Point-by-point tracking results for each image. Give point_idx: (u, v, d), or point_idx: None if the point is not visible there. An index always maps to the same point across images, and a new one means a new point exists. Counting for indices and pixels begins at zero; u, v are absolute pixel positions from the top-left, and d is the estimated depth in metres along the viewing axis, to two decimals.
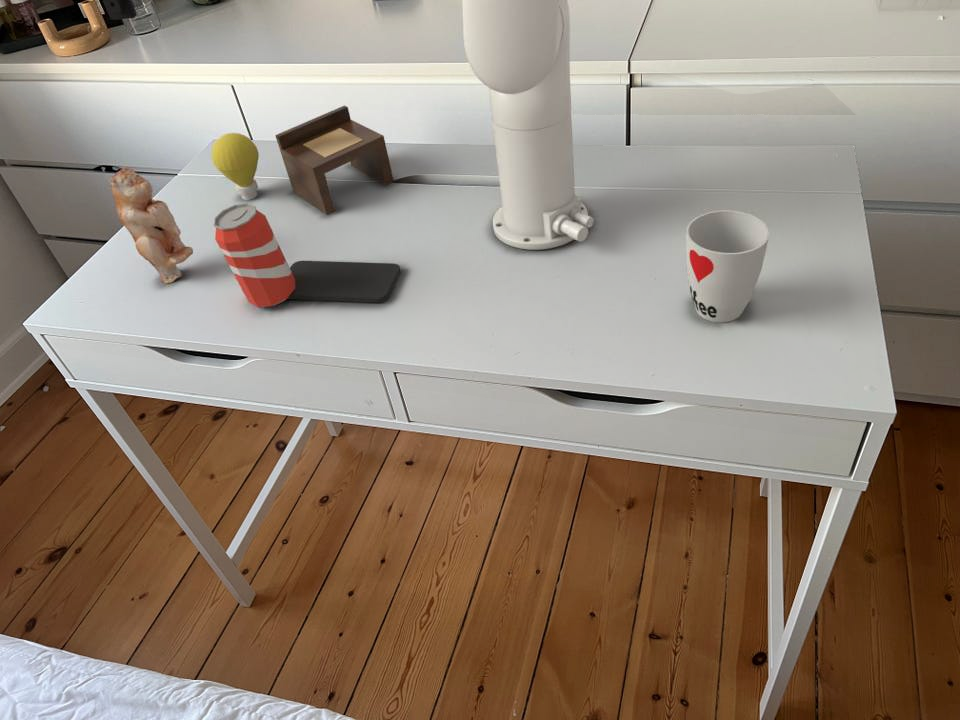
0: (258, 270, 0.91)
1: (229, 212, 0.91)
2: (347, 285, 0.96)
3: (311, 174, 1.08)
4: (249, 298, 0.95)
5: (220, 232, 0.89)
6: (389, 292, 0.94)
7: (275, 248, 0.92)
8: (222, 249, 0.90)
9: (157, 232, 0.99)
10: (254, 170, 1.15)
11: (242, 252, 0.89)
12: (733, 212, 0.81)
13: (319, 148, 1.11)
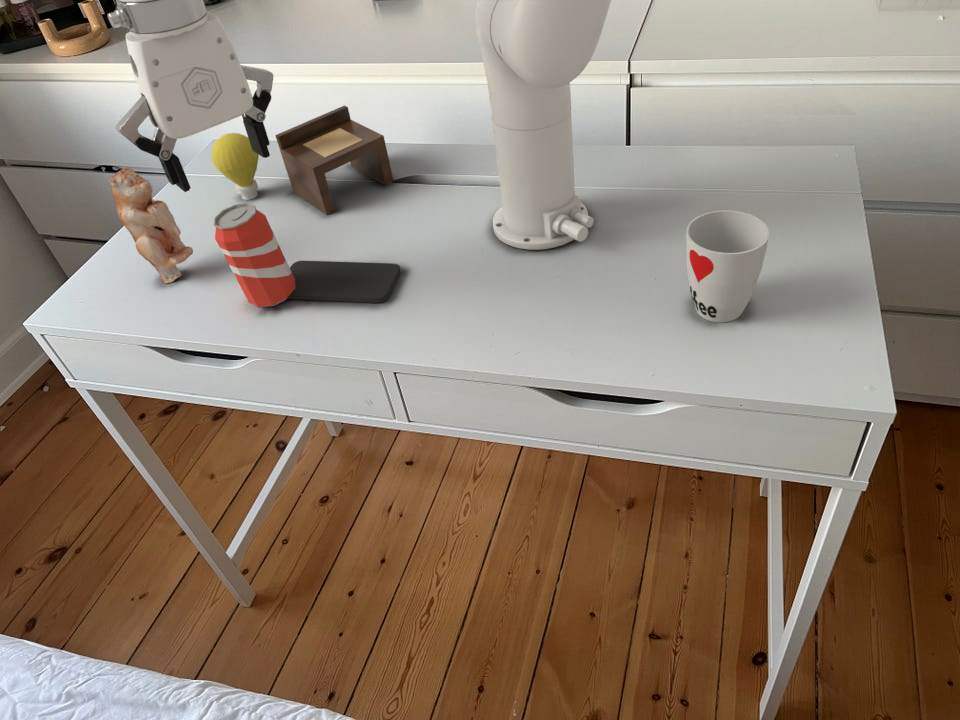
0: (258, 269, 0.91)
1: (229, 211, 0.91)
2: (347, 285, 0.96)
3: (311, 174, 1.08)
4: (249, 298, 0.95)
5: (220, 231, 0.89)
6: (389, 292, 0.94)
7: (275, 248, 0.92)
8: (222, 249, 0.90)
9: (157, 232, 0.99)
10: (254, 170, 1.15)
11: (242, 251, 0.89)
12: (733, 212, 0.81)
13: (319, 148, 1.11)
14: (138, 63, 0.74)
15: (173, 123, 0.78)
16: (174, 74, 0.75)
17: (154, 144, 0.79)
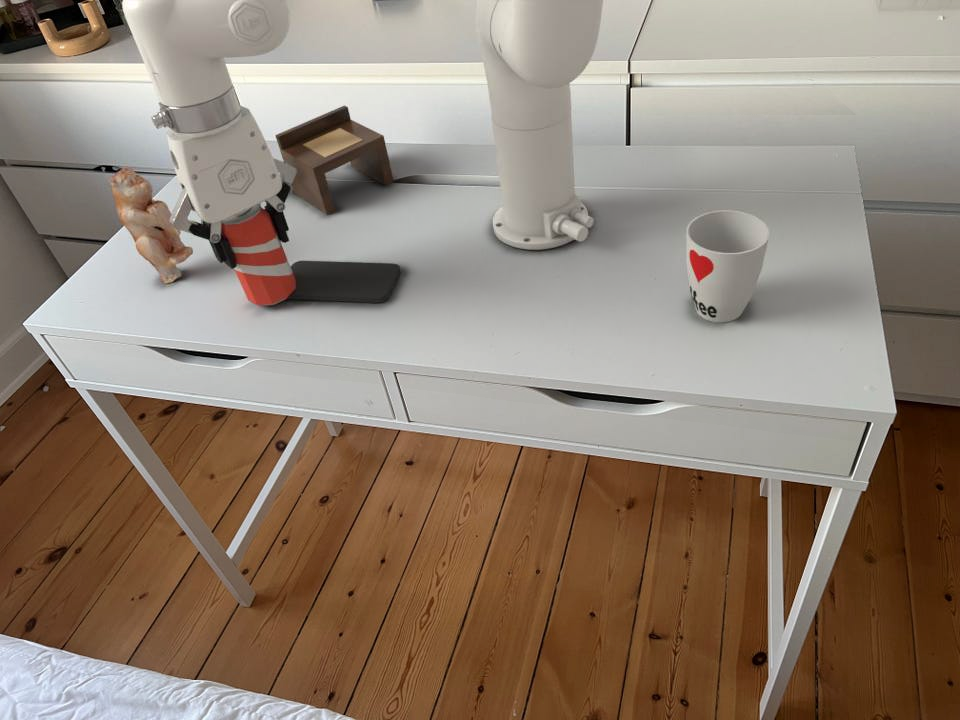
0: (260, 266, 0.91)
1: None
2: (347, 285, 0.96)
3: (311, 174, 1.08)
4: (249, 296, 0.95)
5: (224, 227, 0.89)
6: (389, 292, 0.94)
7: (278, 246, 0.92)
8: None
9: (157, 232, 0.99)
10: None
11: (245, 247, 0.89)
12: (733, 212, 0.81)
13: (319, 148, 1.11)
14: (179, 158, 0.80)
15: (210, 210, 0.84)
16: (211, 167, 0.82)
17: (205, 229, 0.87)
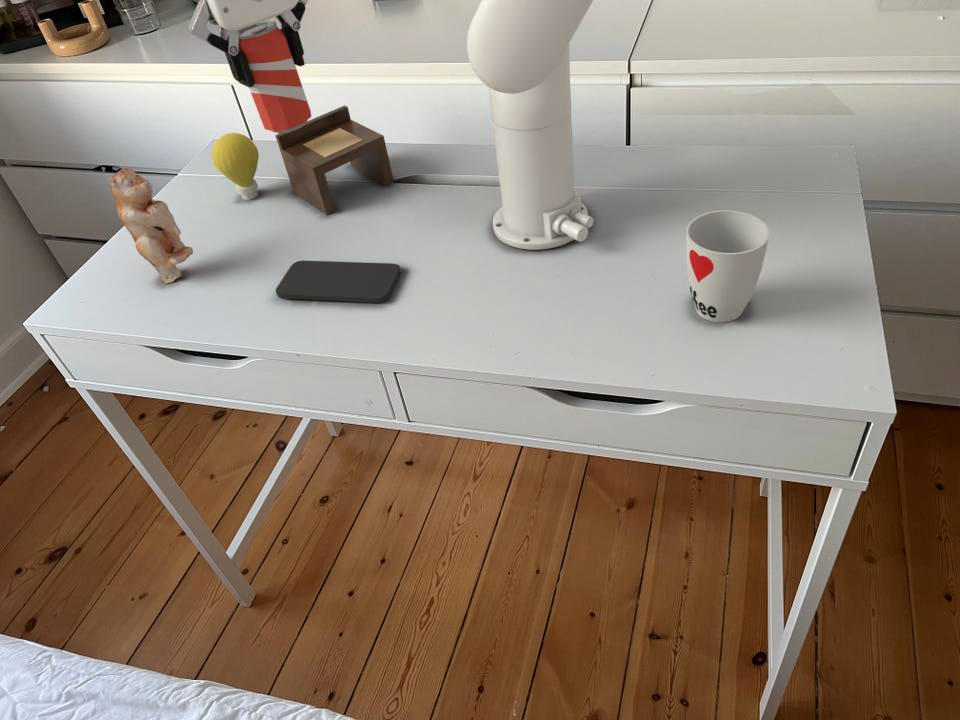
0: (277, 86, 0.92)
1: (249, 29, 0.93)
2: (347, 285, 0.96)
3: (311, 174, 1.08)
4: (265, 122, 0.96)
5: (241, 42, 0.90)
6: (389, 292, 0.94)
7: (294, 67, 0.93)
8: None
9: (157, 232, 0.99)
10: (254, 170, 1.15)
11: (262, 63, 0.90)
12: (733, 212, 0.81)
13: (319, 148, 1.11)
14: None
15: (229, 15, 0.85)
16: None
17: (223, 40, 0.88)
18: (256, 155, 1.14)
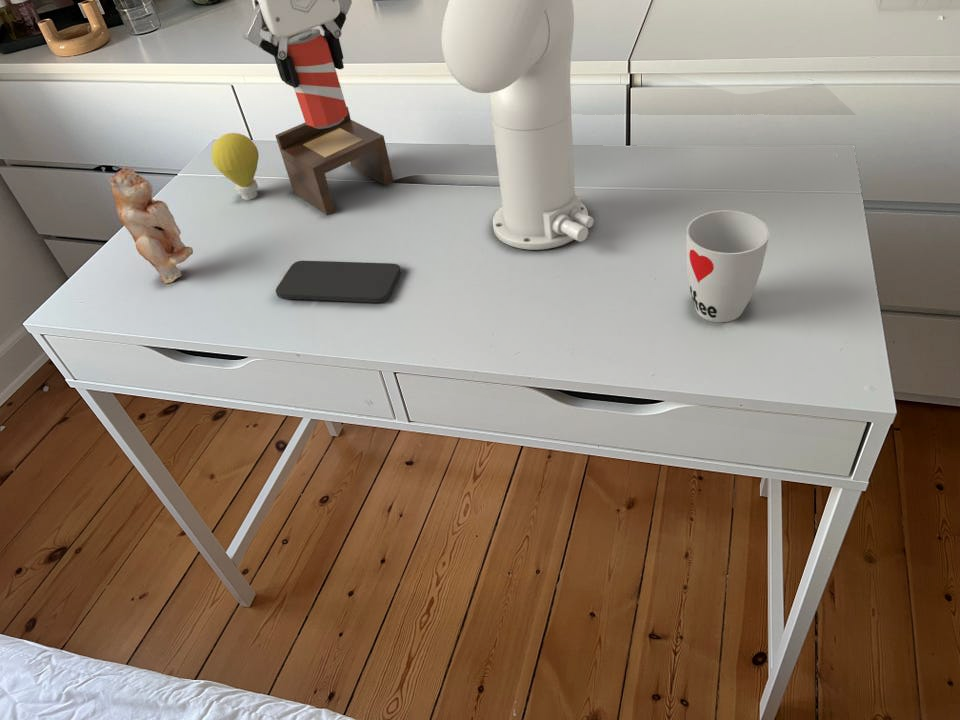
0: (319, 86, 1.04)
1: (296, 35, 1.04)
2: (347, 285, 0.96)
3: (311, 174, 1.08)
4: (307, 119, 1.07)
5: (289, 47, 1.01)
6: (389, 292, 0.94)
7: (334, 70, 1.05)
8: None
9: (157, 232, 0.99)
10: (254, 170, 1.15)
11: (307, 66, 1.02)
12: (733, 212, 0.81)
13: (319, 148, 1.11)
14: None
15: (280, 23, 0.96)
16: None
17: (274, 46, 0.99)
18: (256, 155, 1.14)
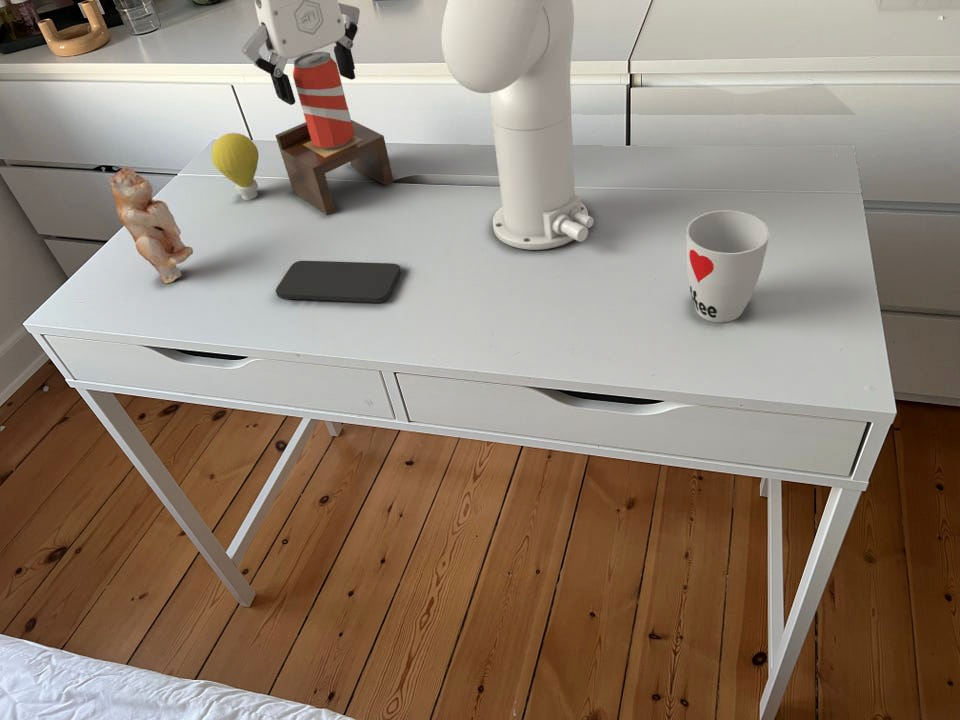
0: (327, 109, 1.05)
1: (306, 58, 1.05)
2: (347, 285, 0.96)
3: (311, 174, 1.08)
4: (314, 139, 1.09)
5: (299, 70, 1.03)
6: (389, 292, 0.94)
7: (343, 93, 1.06)
8: (298, 88, 1.04)
9: (157, 232, 0.99)
10: (254, 170, 1.15)
11: (317, 90, 1.03)
12: (733, 212, 0.81)
13: (319, 148, 1.11)
14: None
15: (286, 45, 0.98)
16: (289, 5, 0.96)
17: (270, 64, 1.00)
18: (256, 155, 1.14)
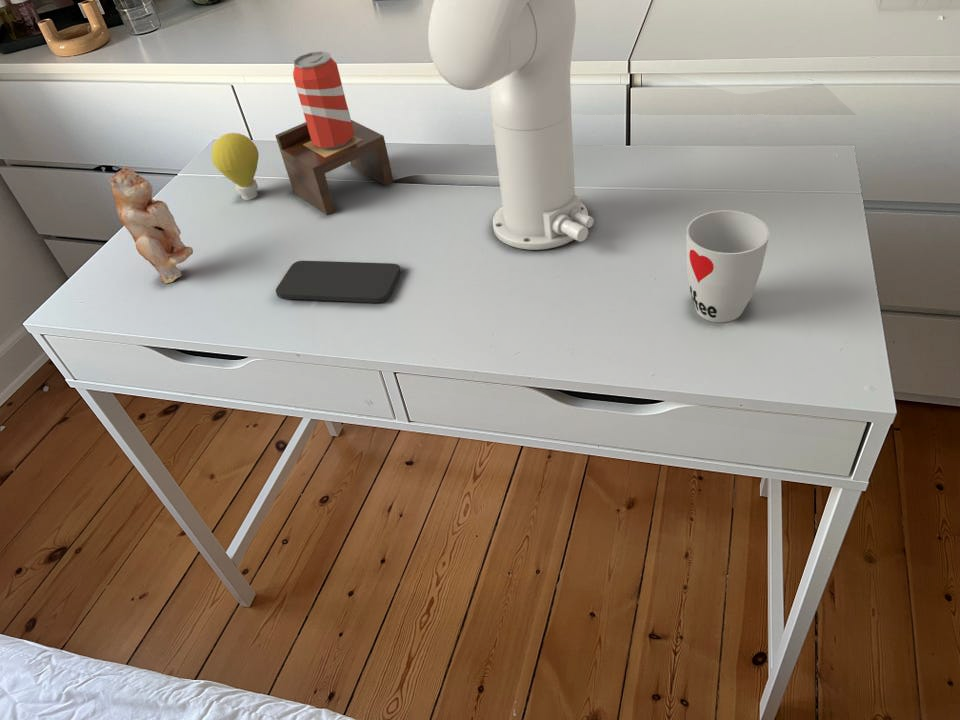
0: (327, 109, 1.05)
1: (306, 57, 1.05)
2: (347, 285, 0.96)
3: (311, 174, 1.08)
4: (314, 139, 1.09)
5: (300, 70, 1.03)
6: (389, 292, 0.94)
7: (343, 93, 1.06)
8: (298, 88, 1.04)
9: (157, 232, 0.99)
10: (254, 170, 1.15)
11: (317, 90, 1.03)
12: (733, 212, 0.81)
13: (319, 148, 1.11)
14: None
15: None
16: None
17: None
18: (256, 155, 1.14)
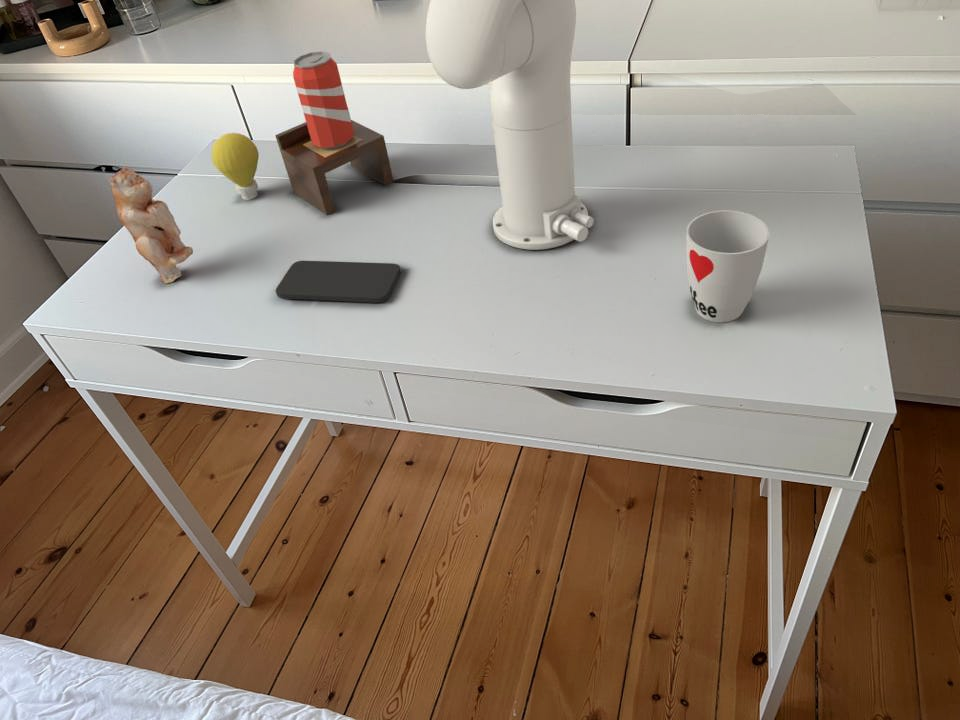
0: (327, 109, 1.05)
1: (306, 57, 1.05)
2: (347, 285, 0.96)
3: (311, 174, 1.08)
4: (314, 139, 1.09)
5: (300, 70, 1.03)
6: (389, 292, 0.94)
7: (343, 93, 1.06)
8: (298, 88, 1.04)
9: (157, 232, 0.99)
10: (254, 170, 1.15)
11: (317, 90, 1.03)
12: (733, 212, 0.81)
13: (319, 148, 1.11)
14: None
15: None
16: None
17: None
18: (256, 155, 1.14)
